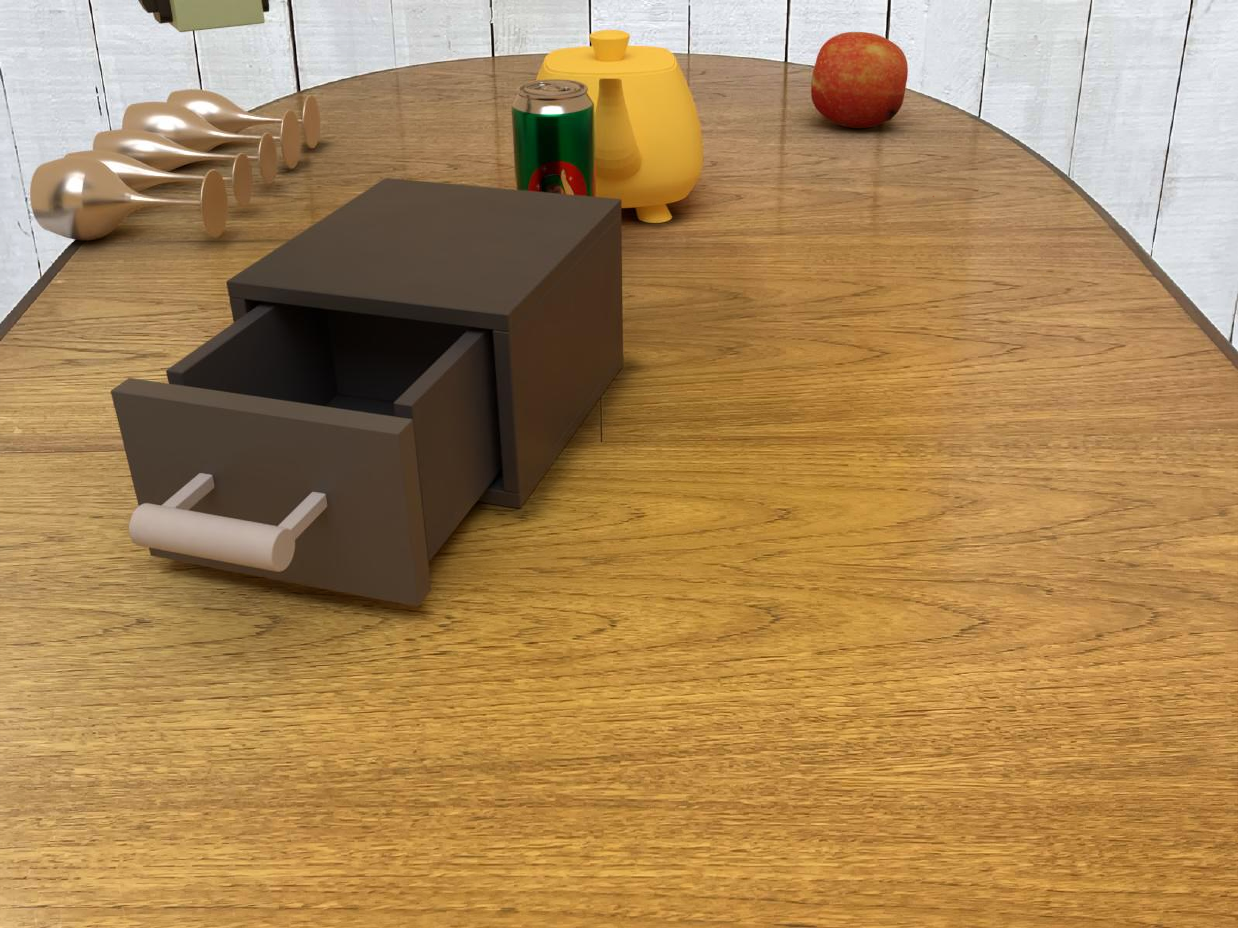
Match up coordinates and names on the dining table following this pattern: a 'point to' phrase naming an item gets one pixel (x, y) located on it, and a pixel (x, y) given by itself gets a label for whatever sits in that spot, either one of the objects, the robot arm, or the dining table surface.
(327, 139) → the dining table surface
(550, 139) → the soda can
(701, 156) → the teapot
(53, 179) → the goblet set
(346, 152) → the dining table surface
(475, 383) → the drawer
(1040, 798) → the dining table surface
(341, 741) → the dining table surface
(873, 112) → the apple
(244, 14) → the block
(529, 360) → the cabinet
